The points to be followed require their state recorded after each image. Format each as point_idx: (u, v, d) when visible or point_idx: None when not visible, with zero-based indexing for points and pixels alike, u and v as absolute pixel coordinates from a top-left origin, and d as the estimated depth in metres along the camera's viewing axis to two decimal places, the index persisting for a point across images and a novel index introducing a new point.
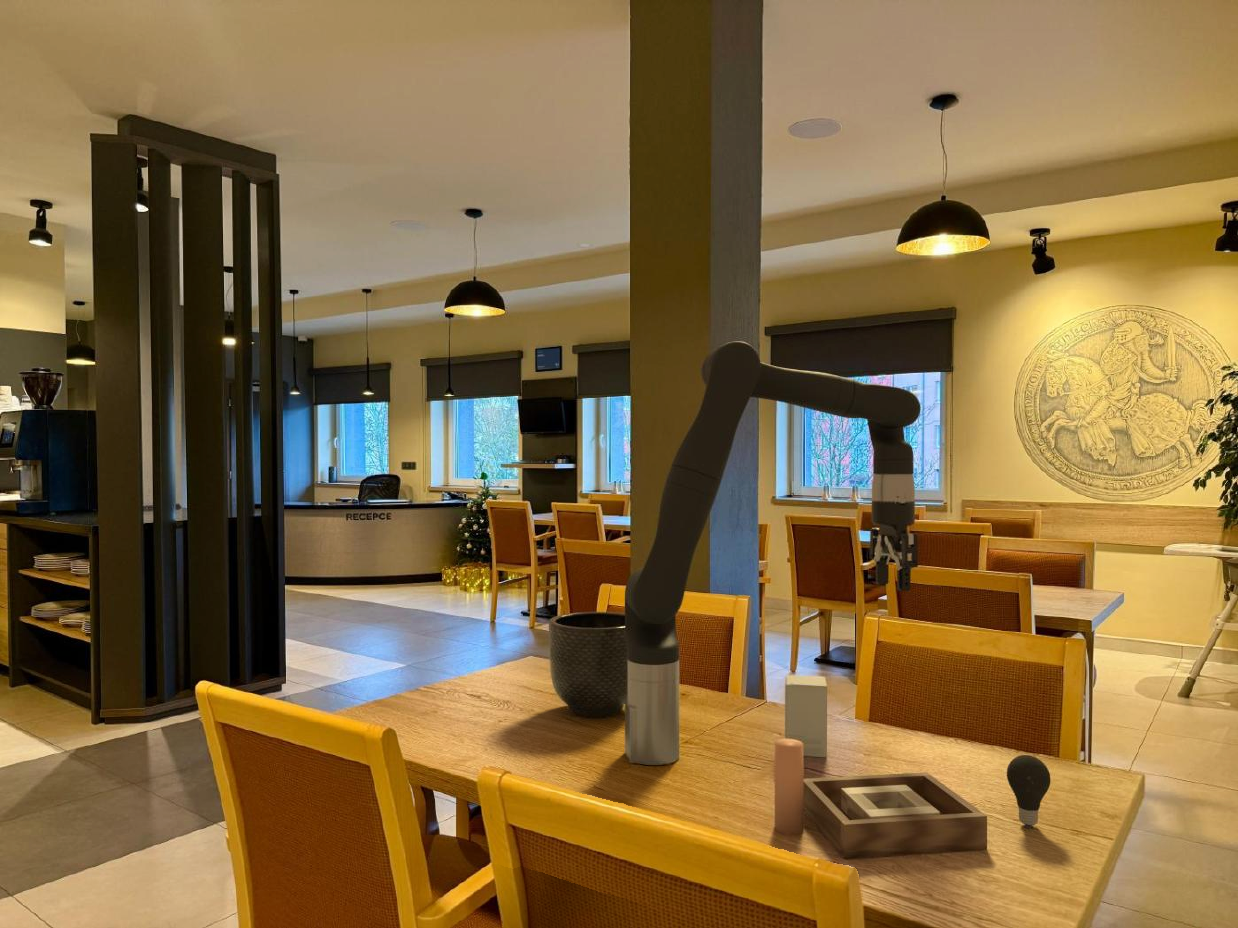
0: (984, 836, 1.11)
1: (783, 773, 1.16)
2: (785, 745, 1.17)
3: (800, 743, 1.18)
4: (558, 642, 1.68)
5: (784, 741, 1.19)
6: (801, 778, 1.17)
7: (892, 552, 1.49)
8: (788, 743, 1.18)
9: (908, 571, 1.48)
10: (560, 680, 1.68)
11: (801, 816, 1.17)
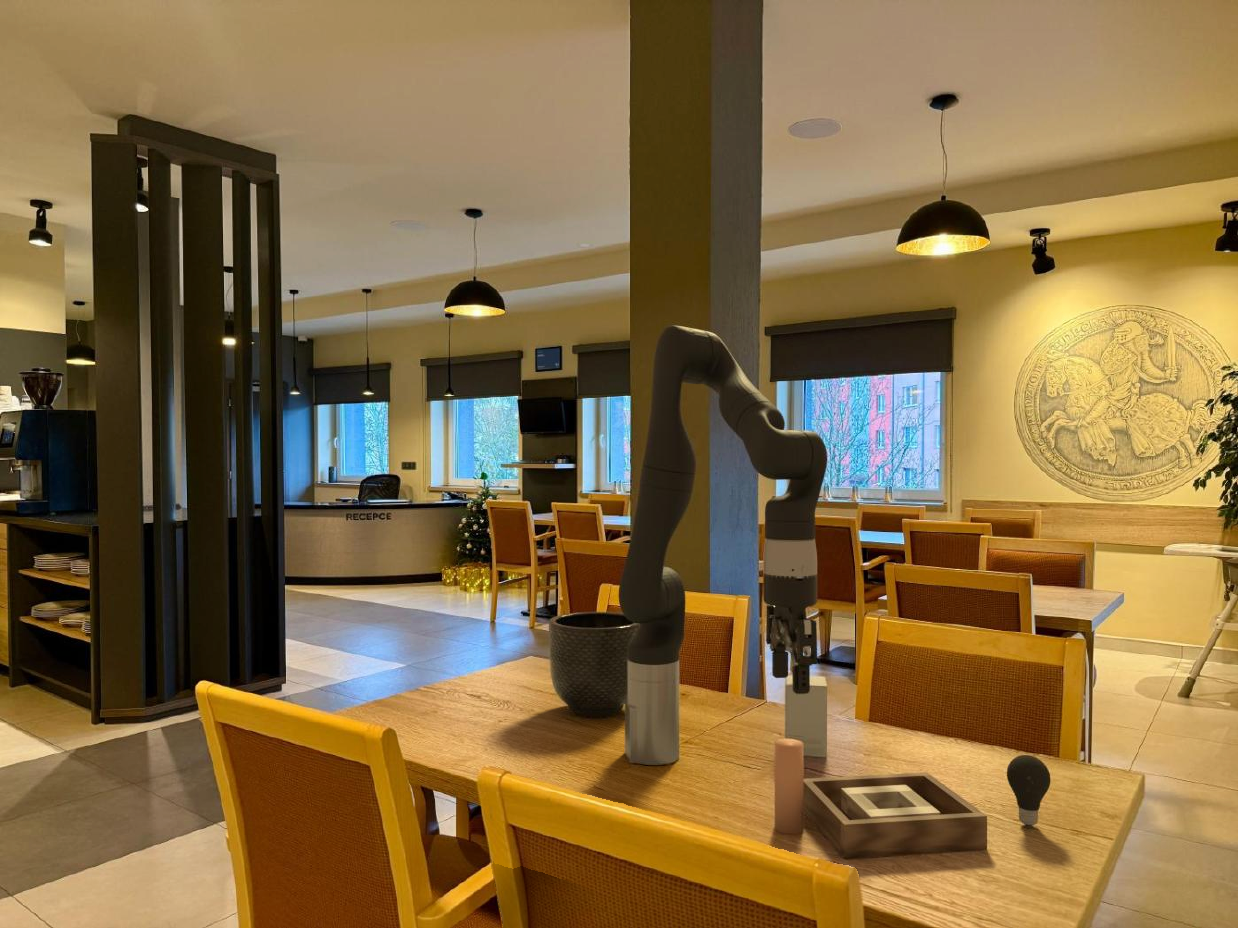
0: (984, 836, 1.11)
1: (783, 773, 1.16)
2: (785, 745, 1.17)
3: (800, 743, 1.18)
4: (558, 642, 1.68)
5: (784, 741, 1.19)
6: (801, 778, 1.17)
7: (786, 642, 1.15)
8: (788, 743, 1.18)
9: (806, 668, 1.13)
10: (560, 680, 1.68)
11: (801, 816, 1.17)
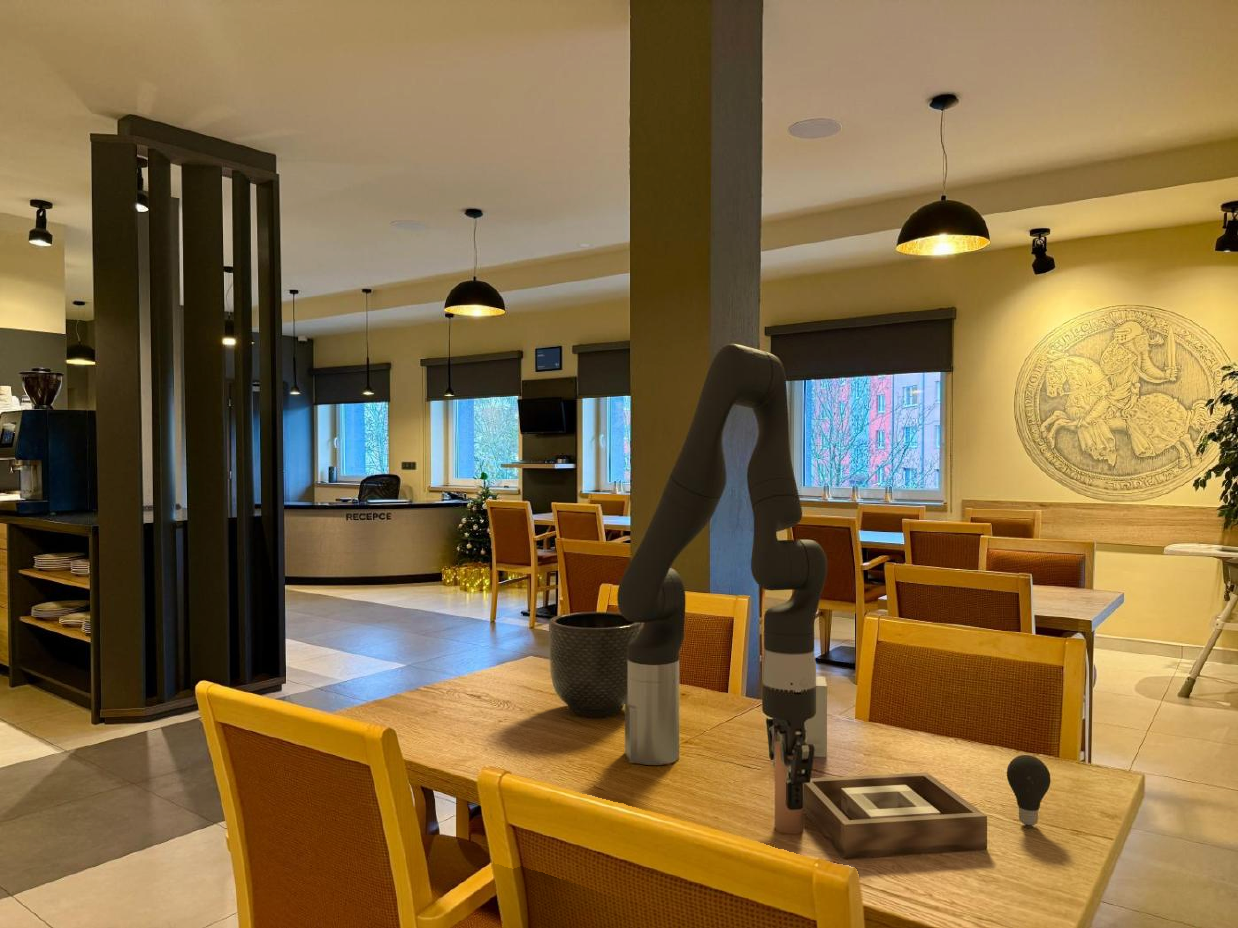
0: (984, 836, 1.11)
1: (783, 773, 1.16)
2: None
3: None
4: (558, 642, 1.68)
5: None
6: None
7: (782, 758, 1.16)
8: None
9: (799, 785, 1.15)
10: (560, 680, 1.68)
11: (801, 816, 1.17)
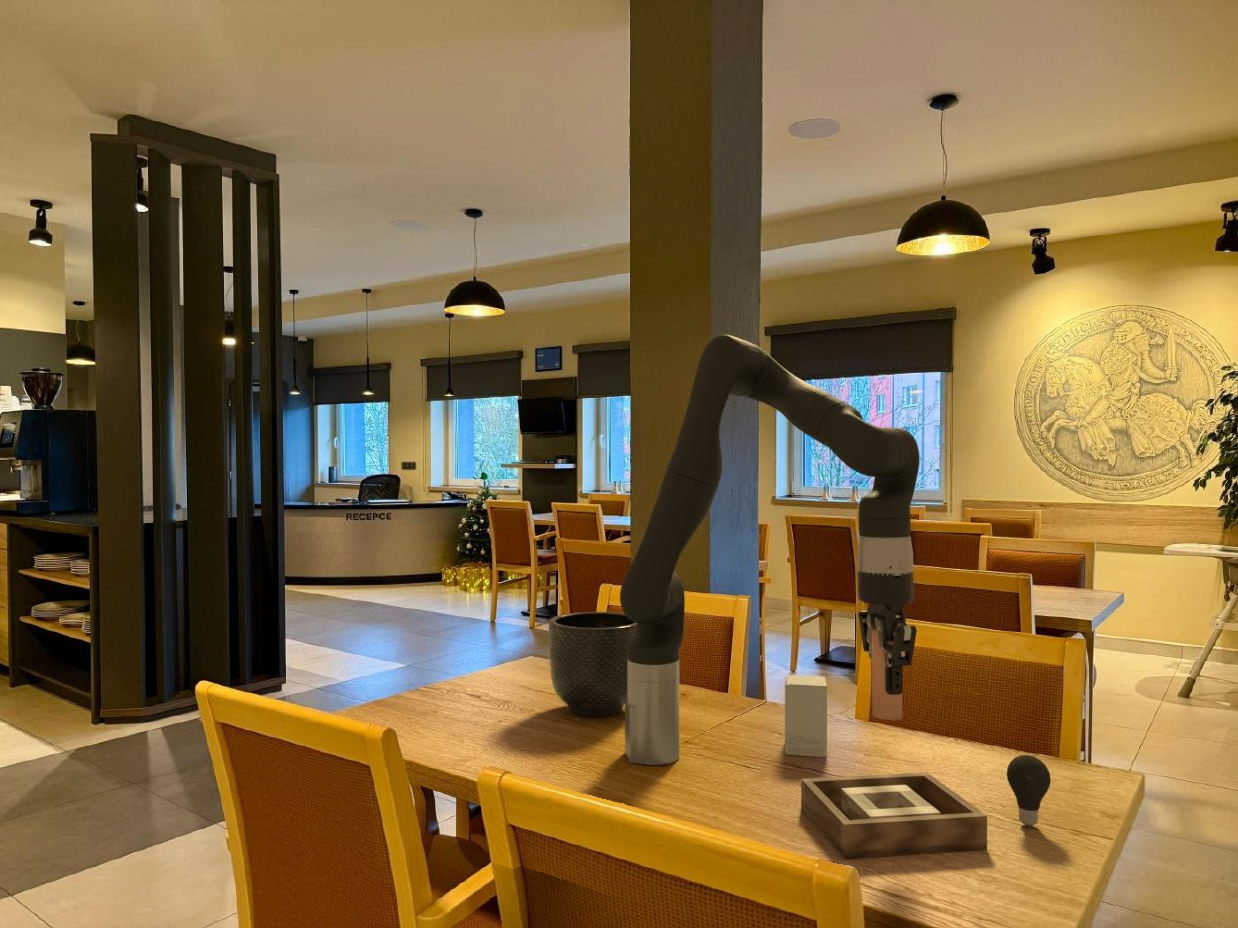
0: (984, 836, 1.11)
1: (882, 659, 1.16)
2: None
3: None
4: (558, 642, 1.68)
5: None
6: None
7: (882, 643, 1.15)
8: None
9: (899, 669, 1.14)
10: (560, 680, 1.68)
11: (900, 702, 1.16)
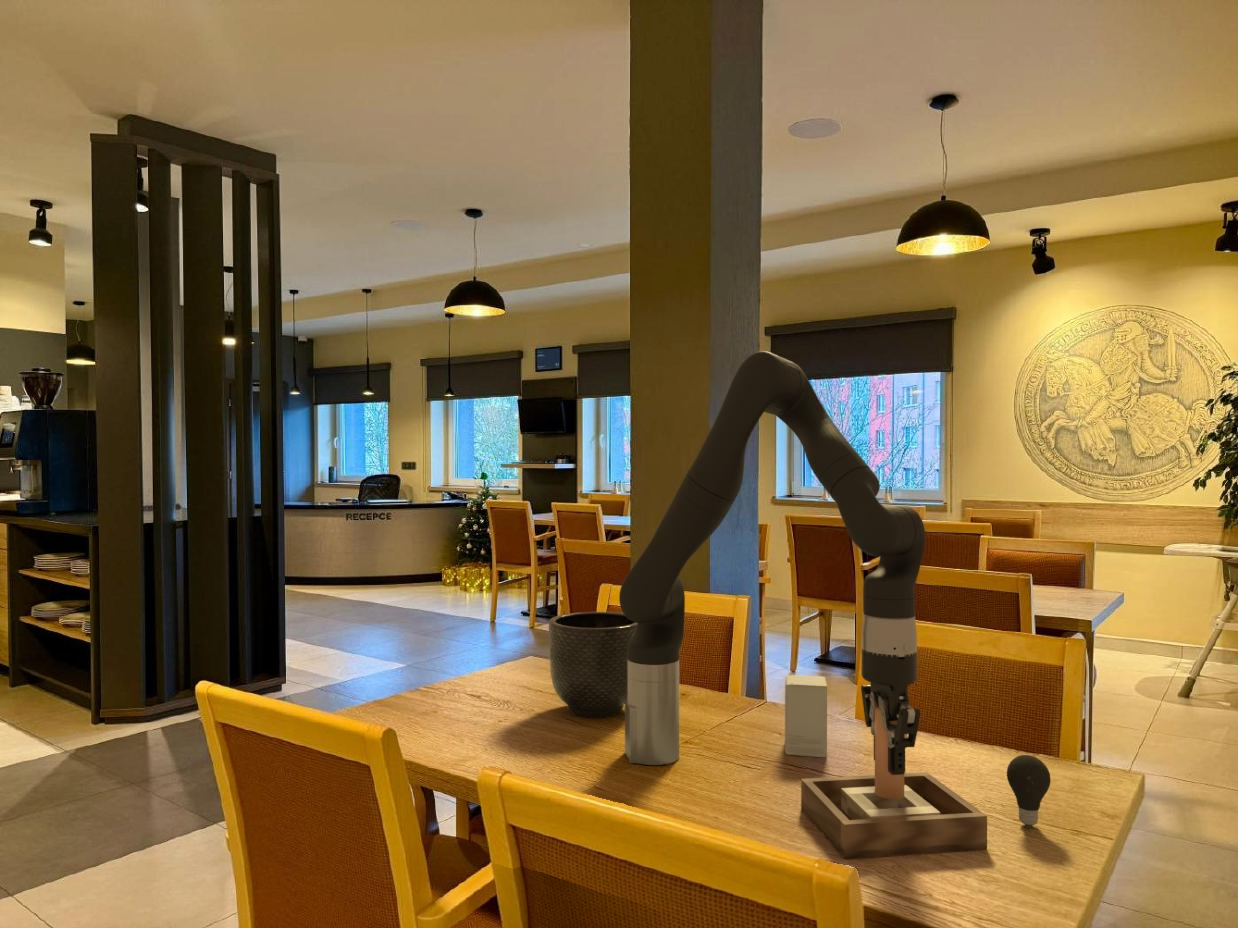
0: (984, 836, 1.11)
1: (885, 738, 1.16)
2: None
3: None
4: (558, 642, 1.68)
5: None
6: None
7: (885, 723, 1.16)
8: None
9: (902, 750, 1.15)
10: (560, 680, 1.68)
11: (903, 781, 1.17)
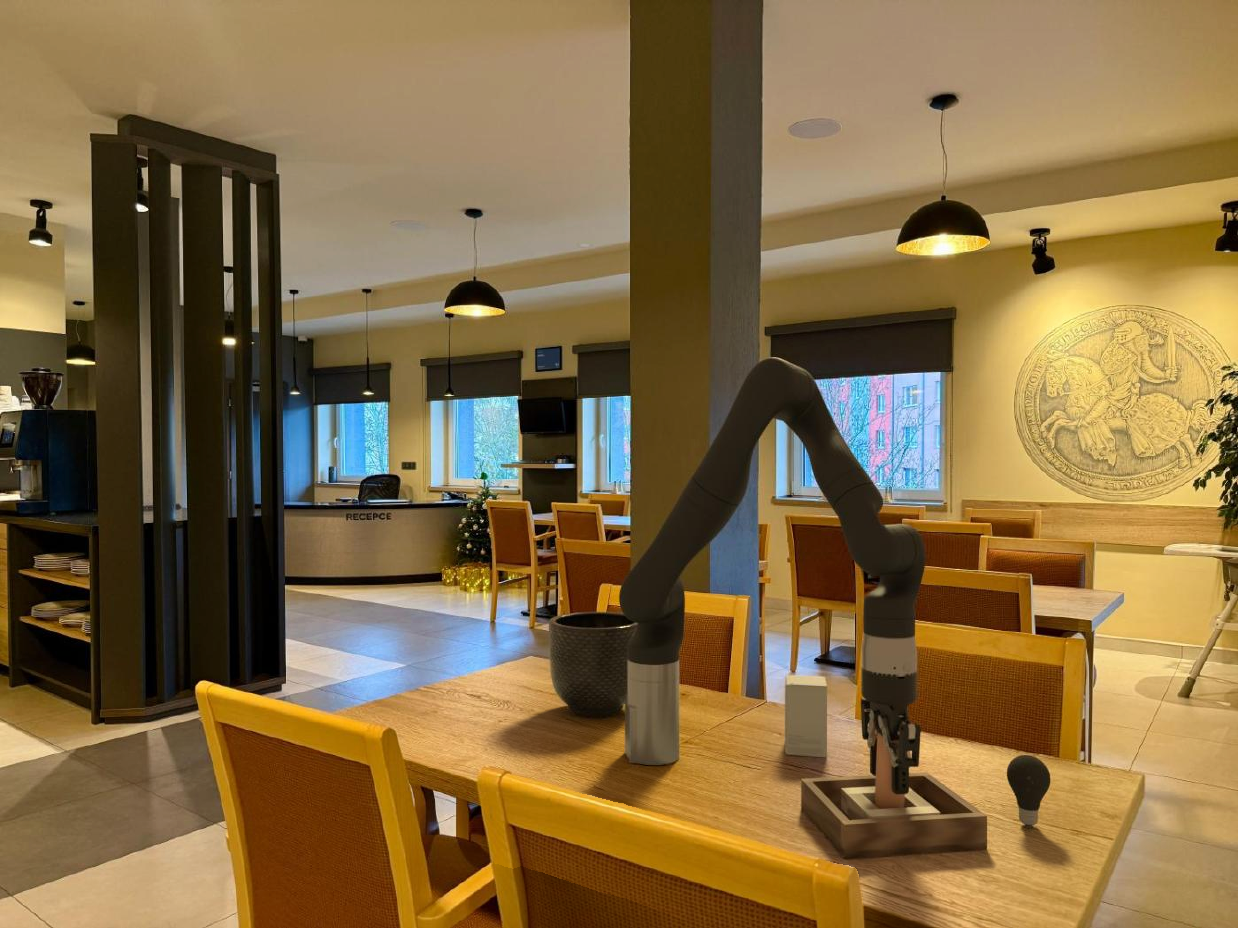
0: (984, 836, 1.11)
1: (887, 765, 1.16)
2: None
3: None
4: (558, 642, 1.68)
5: None
6: None
7: (886, 741, 1.15)
8: None
9: (906, 769, 1.14)
10: (560, 680, 1.68)
11: None
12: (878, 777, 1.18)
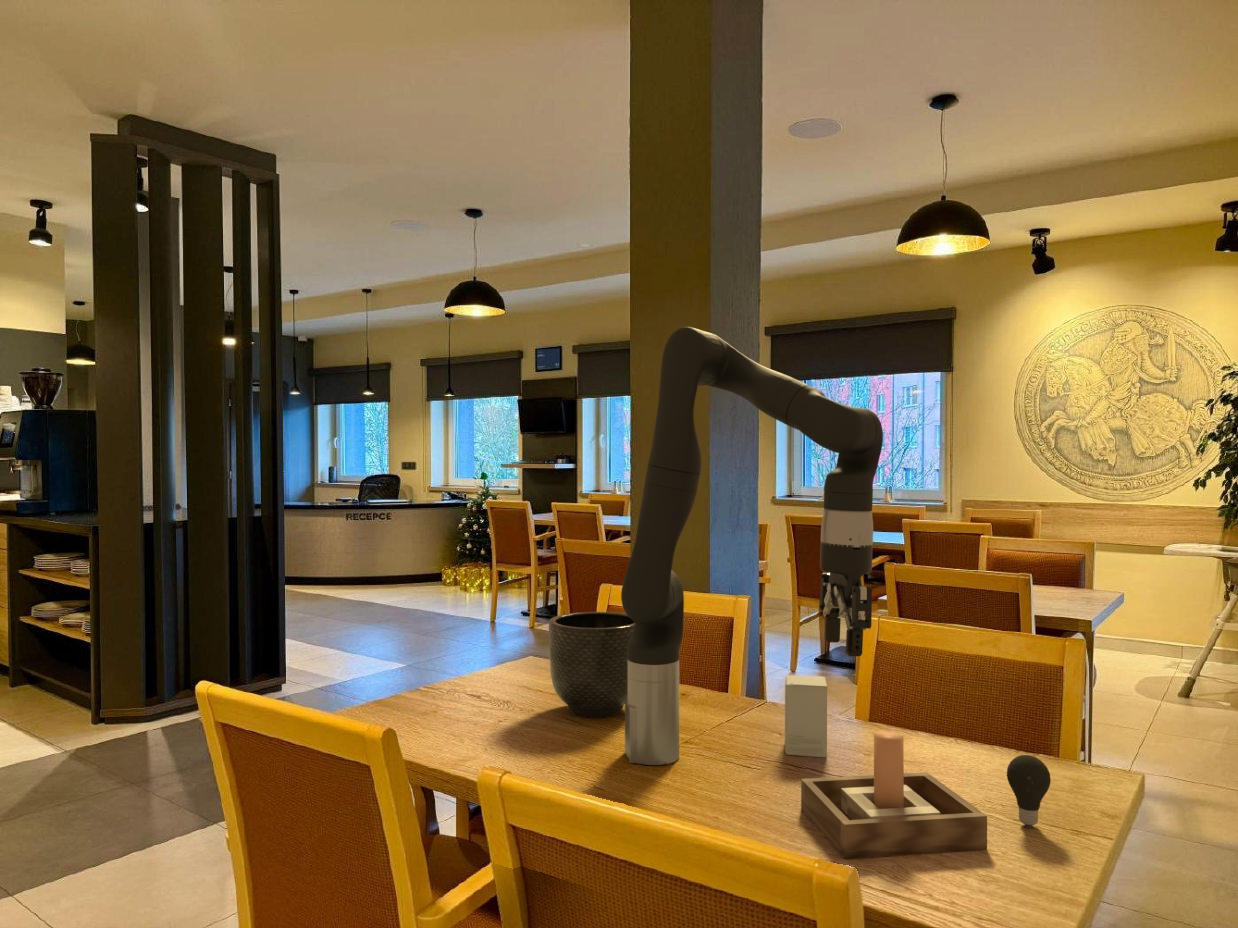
0: (984, 836, 1.11)
1: (884, 765, 1.16)
2: (885, 738, 1.17)
3: (899, 736, 1.18)
4: (558, 642, 1.68)
5: (884, 734, 1.19)
6: (902, 771, 1.17)
7: (841, 607, 1.21)
8: (888, 736, 1.18)
9: (860, 632, 1.19)
10: (560, 680, 1.68)
11: None
12: (876, 778, 1.18)
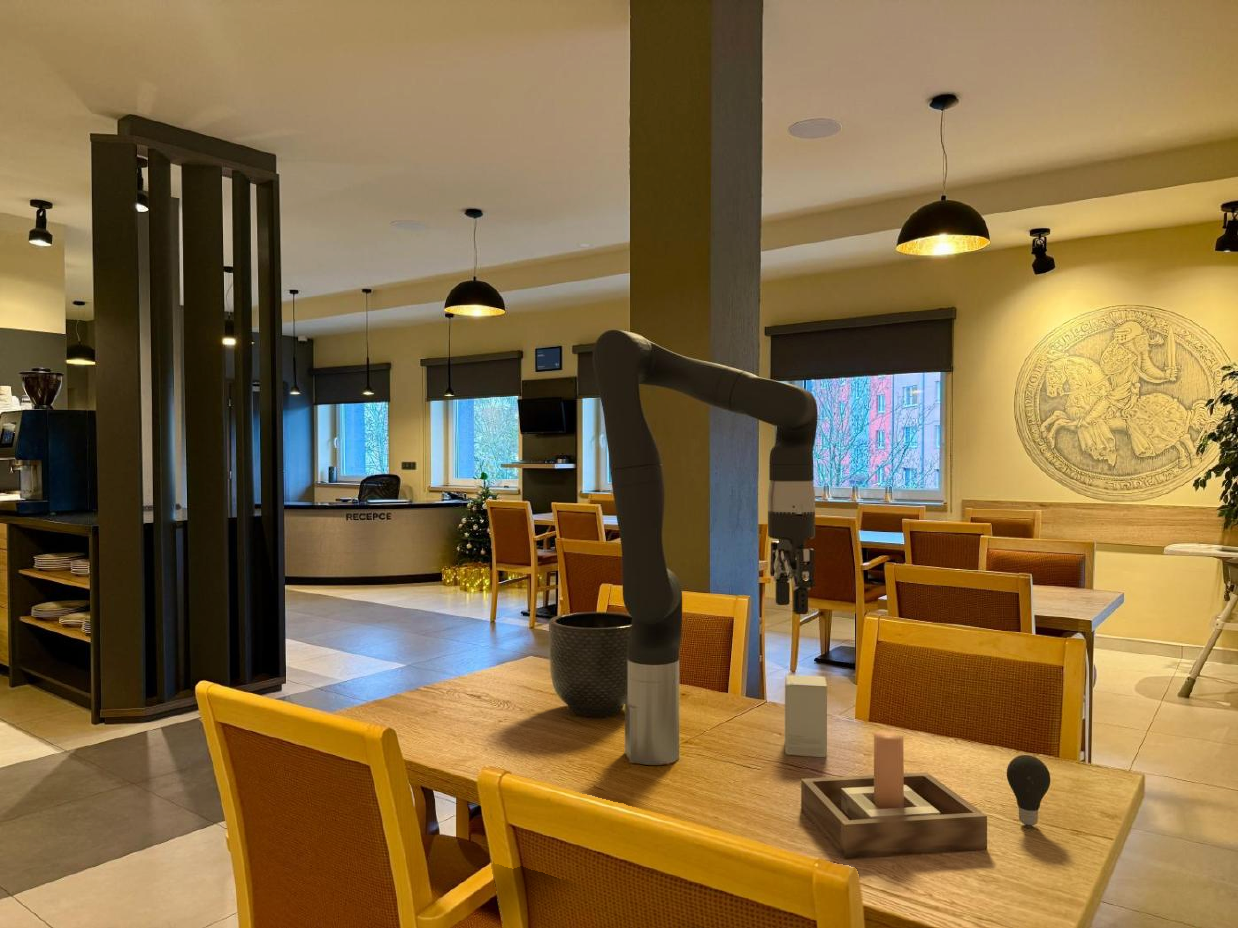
0: (984, 836, 1.11)
1: (884, 766, 1.16)
2: (885, 738, 1.17)
3: (899, 736, 1.18)
4: (558, 642, 1.68)
5: (883, 734, 1.19)
6: (902, 771, 1.17)
7: (788, 570, 1.31)
8: (887, 736, 1.18)
9: (805, 591, 1.30)
10: (560, 680, 1.68)
11: None
12: (876, 778, 1.18)
